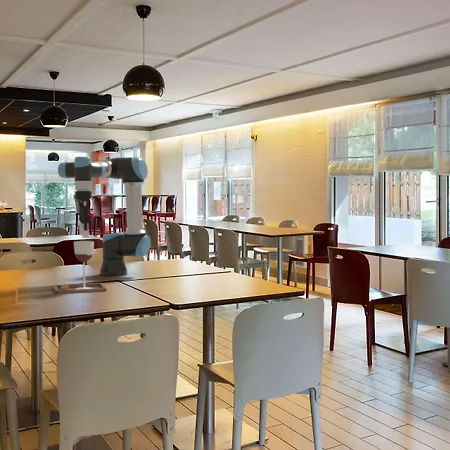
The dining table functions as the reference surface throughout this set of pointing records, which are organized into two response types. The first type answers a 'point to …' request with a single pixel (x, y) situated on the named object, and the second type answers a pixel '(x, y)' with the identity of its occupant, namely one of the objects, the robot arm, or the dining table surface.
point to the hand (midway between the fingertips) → (84, 236)
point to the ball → (64, 287)
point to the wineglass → (84, 255)
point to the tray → (72, 289)
